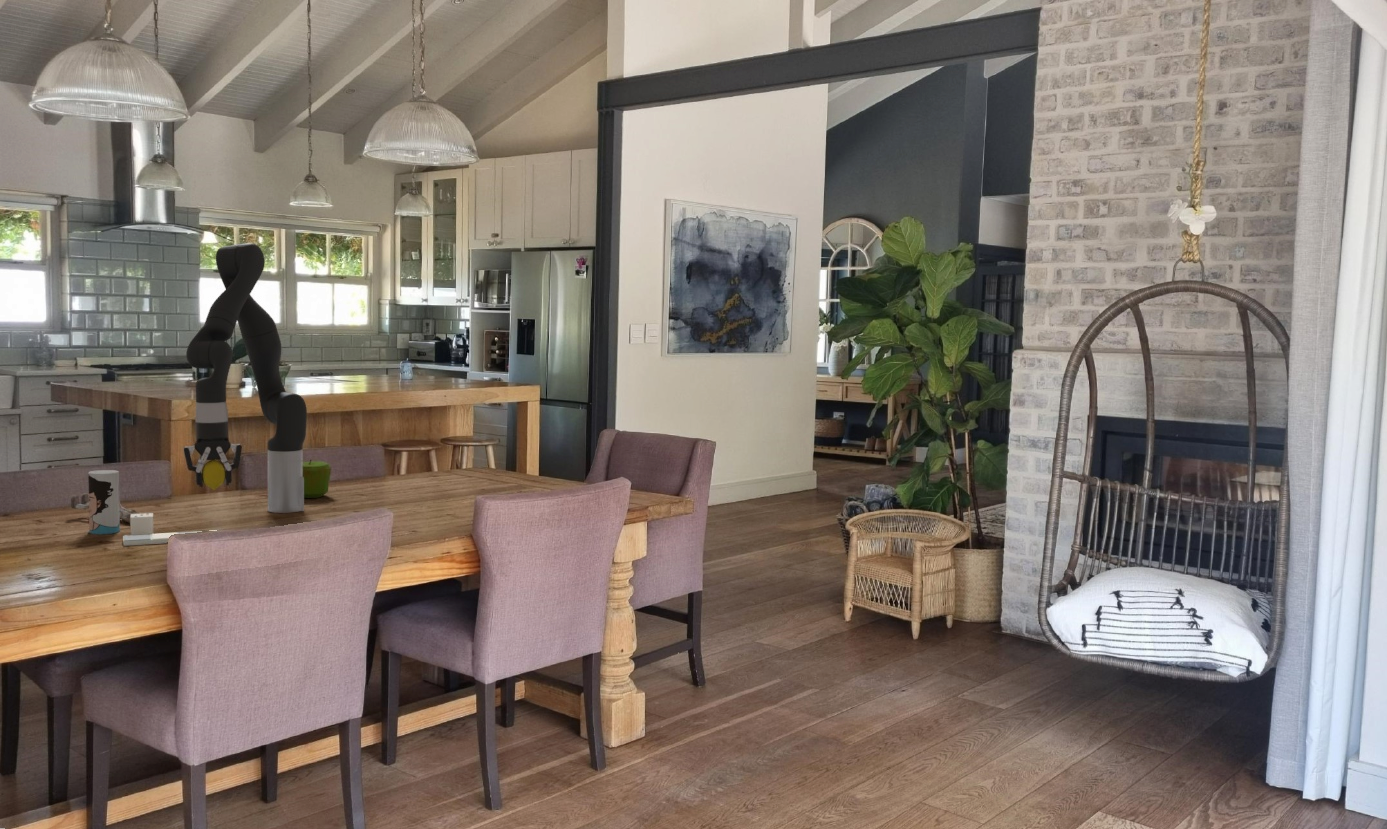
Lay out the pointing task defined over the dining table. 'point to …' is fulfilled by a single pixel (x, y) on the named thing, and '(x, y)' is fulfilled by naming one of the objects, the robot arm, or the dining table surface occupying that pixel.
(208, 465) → the lemon
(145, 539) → the board
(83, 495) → the figurine
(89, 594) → the dining table surface
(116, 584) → the dining table surface
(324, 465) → the apple
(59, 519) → the dining table surface
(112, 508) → the cup
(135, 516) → the off-white cube
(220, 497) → the dining table surface
